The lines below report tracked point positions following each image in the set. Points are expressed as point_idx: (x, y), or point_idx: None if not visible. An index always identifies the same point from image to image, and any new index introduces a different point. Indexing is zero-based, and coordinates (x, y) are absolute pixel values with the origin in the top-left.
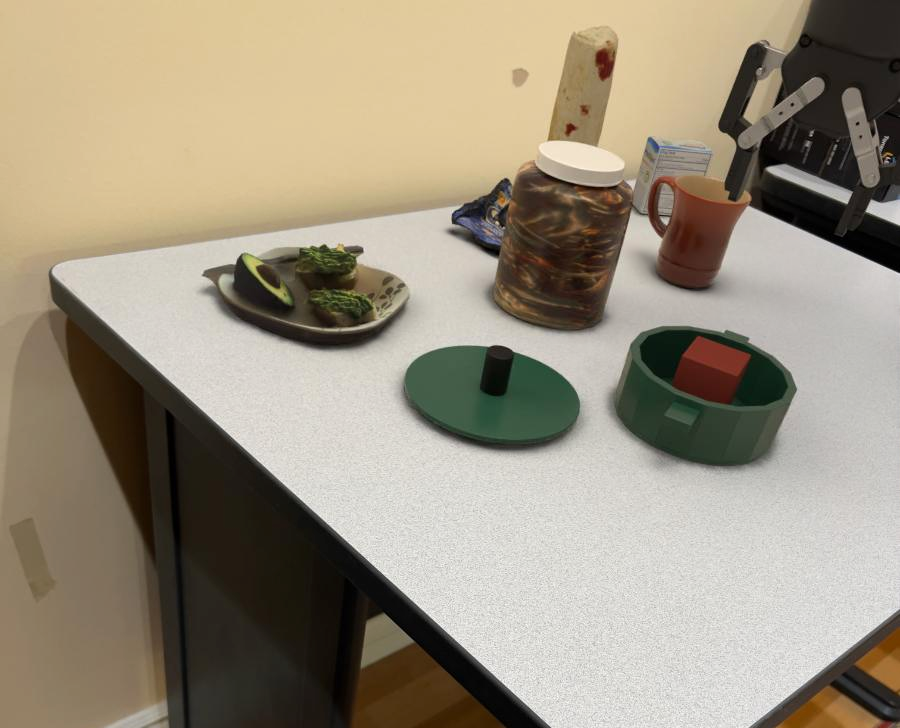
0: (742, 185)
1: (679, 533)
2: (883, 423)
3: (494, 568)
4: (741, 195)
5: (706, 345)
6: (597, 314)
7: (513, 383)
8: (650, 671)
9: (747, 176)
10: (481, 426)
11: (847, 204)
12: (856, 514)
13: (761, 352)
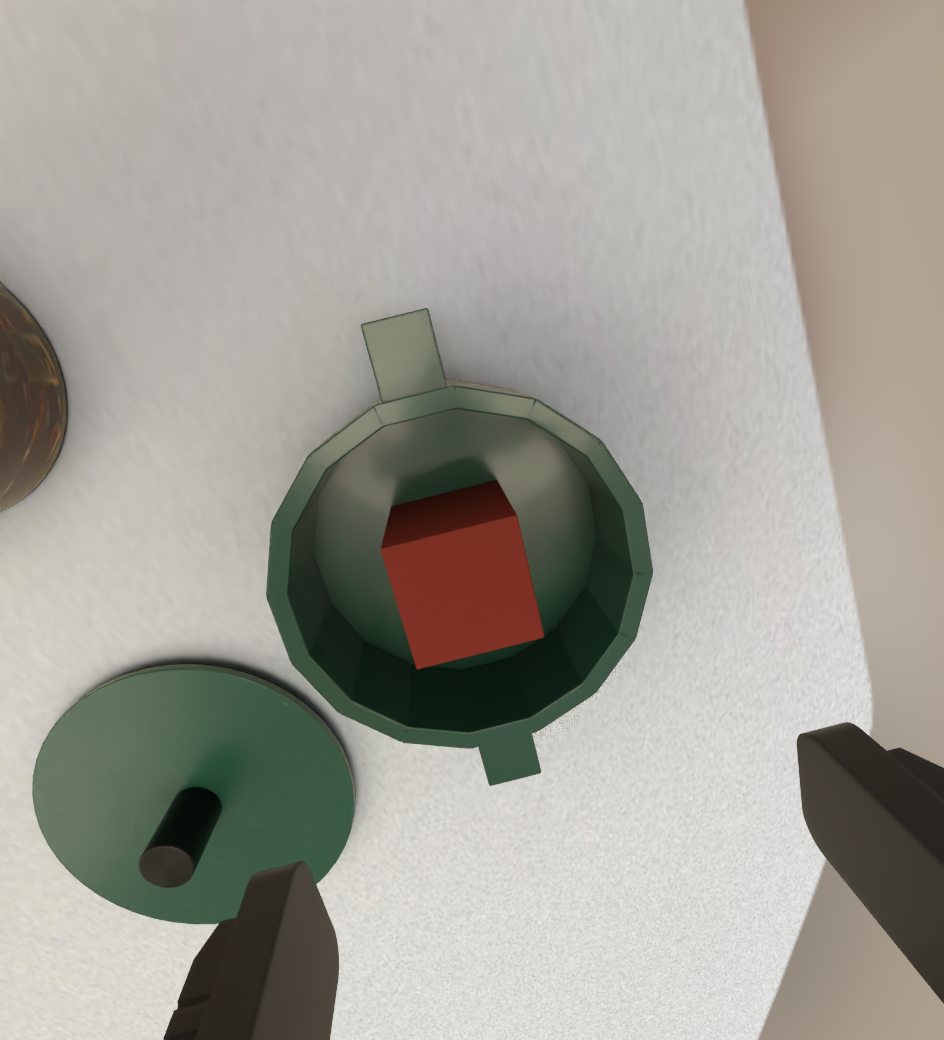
0: (319, 1014)
1: (601, 808)
2: (755, 153)
3: (482, 1006)
4: (303, 872)
5: (423, 577)
6: (45, 382)
7: (200, 767)
8: (683, 986)
9: (291, 1007)
10: None
11: (922, 971)
12: (789, 554)
13: (505, 410)
